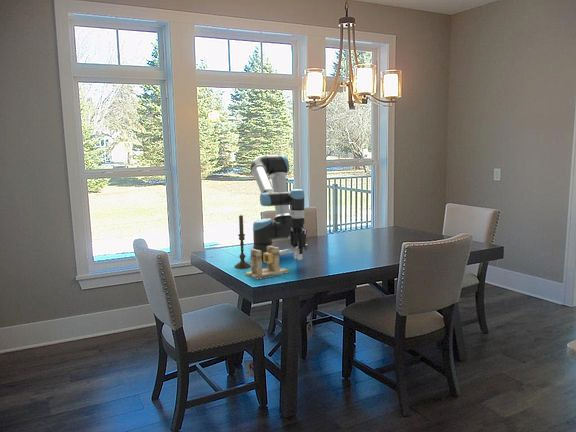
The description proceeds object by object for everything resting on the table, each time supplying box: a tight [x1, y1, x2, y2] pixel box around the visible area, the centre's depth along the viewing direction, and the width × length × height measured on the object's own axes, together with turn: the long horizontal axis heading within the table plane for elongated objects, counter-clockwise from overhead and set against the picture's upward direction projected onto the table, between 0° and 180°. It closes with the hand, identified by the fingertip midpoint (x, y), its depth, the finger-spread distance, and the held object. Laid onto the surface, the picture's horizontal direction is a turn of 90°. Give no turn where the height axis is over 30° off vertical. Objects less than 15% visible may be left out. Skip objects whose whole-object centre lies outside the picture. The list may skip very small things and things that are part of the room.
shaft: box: [270, 243, 311, 256], centre depth 260 cm, size 4×26×4 cm, turn 129°
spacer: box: [262, 252, 274, 264], centre depth 251 cm, size 5×3×5 cm, turn 39°
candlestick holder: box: [234, 214, 251, 269], centre depth 265 cm, size 9×9×30 cm
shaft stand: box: [245, 245, 290, 280], centre depth 251 cm, size 12×20×14 cm, turn 129°
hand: (298, 258), depth 264 cm, fingers closed on shaft, 2 cm apart
